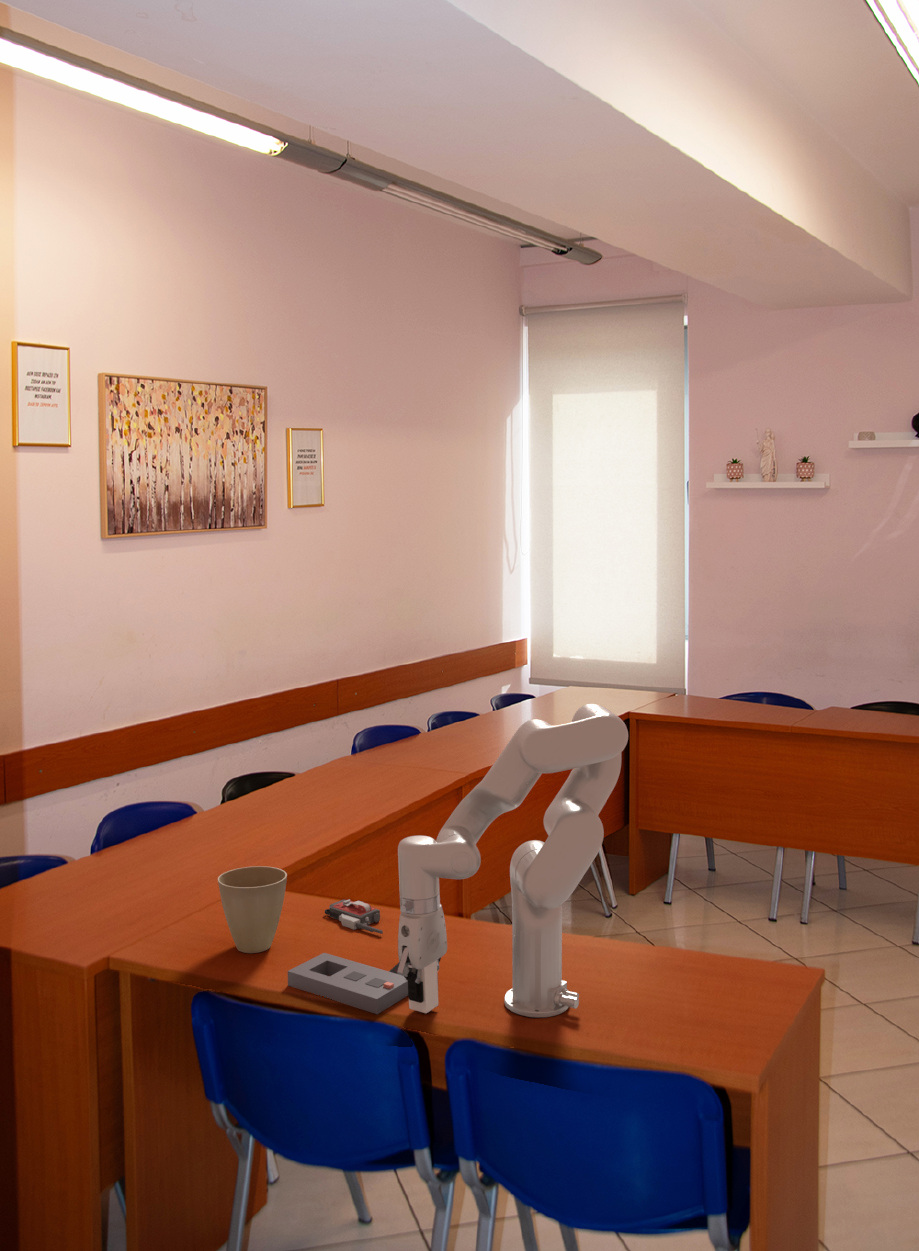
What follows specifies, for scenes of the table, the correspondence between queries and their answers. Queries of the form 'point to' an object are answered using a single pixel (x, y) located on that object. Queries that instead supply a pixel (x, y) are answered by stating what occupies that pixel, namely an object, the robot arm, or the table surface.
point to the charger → (427, 989)
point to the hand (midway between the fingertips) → (423, 994)
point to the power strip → (349, 982)
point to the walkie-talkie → (354, 914)
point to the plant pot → (253, 905)
